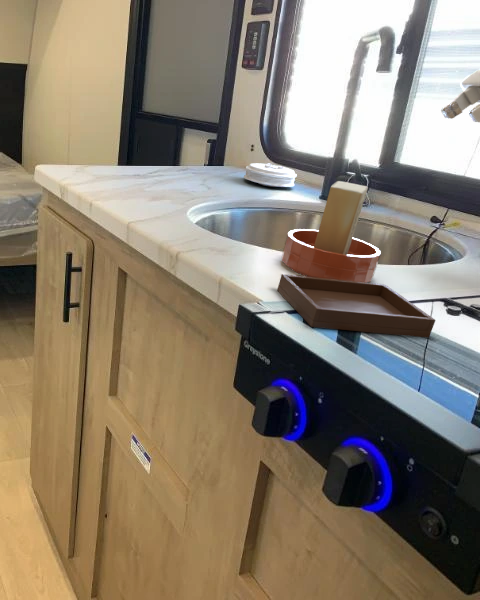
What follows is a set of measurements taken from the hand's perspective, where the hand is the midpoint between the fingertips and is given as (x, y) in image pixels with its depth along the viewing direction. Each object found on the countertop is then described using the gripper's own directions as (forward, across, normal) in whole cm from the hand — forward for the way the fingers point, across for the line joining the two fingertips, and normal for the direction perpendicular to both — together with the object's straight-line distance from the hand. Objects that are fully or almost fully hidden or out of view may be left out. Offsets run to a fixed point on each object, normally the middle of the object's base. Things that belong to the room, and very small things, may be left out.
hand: (458, 116), depth 80 cm
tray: (+25, +17, +9) cm, 32 cm away
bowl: (+25, +1, +9) cm, 26 cm away
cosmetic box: (+24, +1, +9) cm, 26 cm away
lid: (+25, -70, +6) cm, 74 cm away
